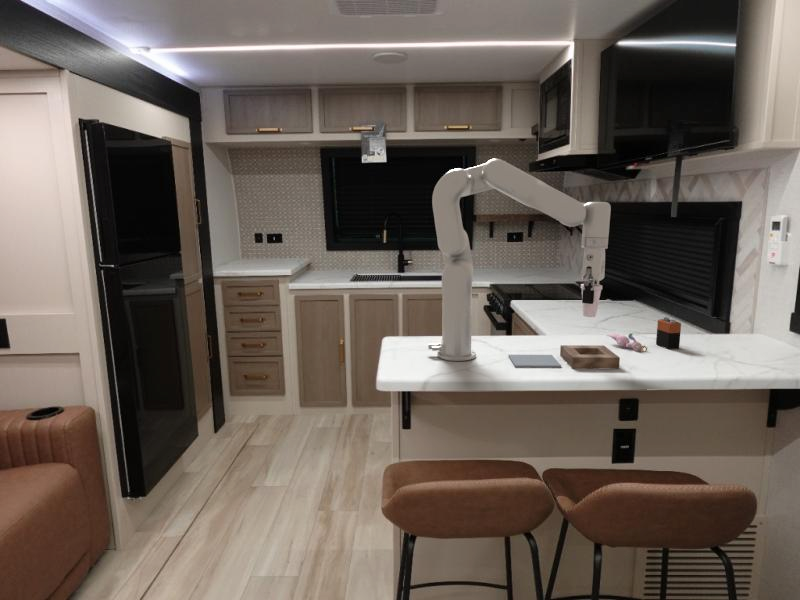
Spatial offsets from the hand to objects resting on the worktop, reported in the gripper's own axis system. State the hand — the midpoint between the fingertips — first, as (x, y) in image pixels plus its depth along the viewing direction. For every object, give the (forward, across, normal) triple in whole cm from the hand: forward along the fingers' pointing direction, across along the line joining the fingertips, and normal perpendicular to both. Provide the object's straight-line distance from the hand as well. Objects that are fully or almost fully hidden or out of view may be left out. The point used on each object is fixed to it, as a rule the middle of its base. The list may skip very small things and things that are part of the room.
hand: (590, 301), depth 163 cm
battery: (+19, +33, -20) cm, 43 cm away
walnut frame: (+19, 0, -1) cm, 20 cm away
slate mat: (+20, -8, +14) cm, 26 cm away
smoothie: (+5, 0, 0) cm, 5 cm away
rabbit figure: (+19, +25, -8) cm, 33 cm away
